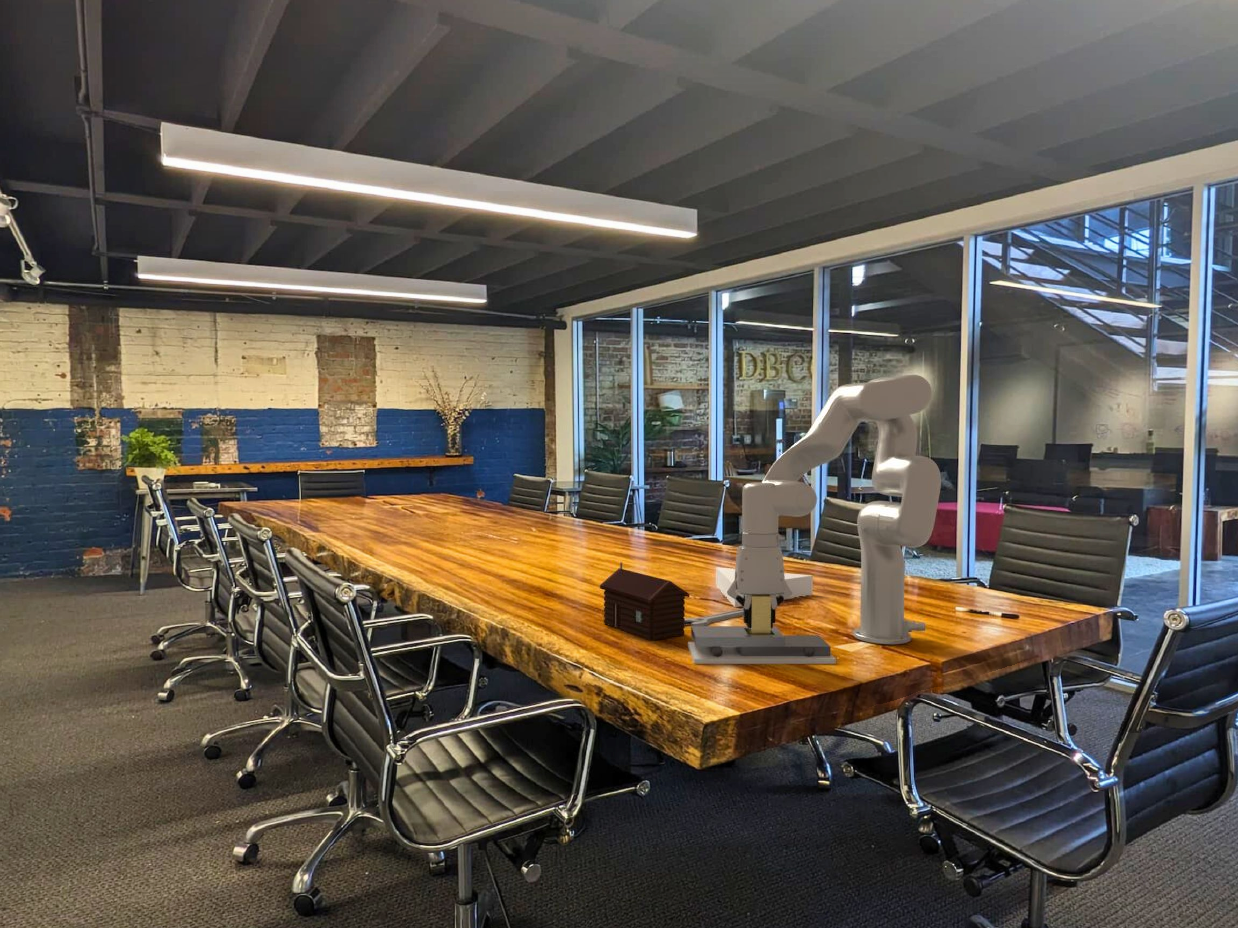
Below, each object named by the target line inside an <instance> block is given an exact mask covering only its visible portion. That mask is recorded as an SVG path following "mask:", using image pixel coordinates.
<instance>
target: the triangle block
mask: <svg viewBox="0 0 1238 928" xmlns="http://www.w3.org/2000/svg"><path fill="white" fill-rule="evenodd" d="M784 576H785V582H786V583H787V585H788V587H789V588H790V590H791V591H792V595H791V596H790V597H788V598H787V599H786V600H790V599H795V598H794V597H797V598H800V597H799V596H803V597H807V596H806V595H809V596H813V595H814V594H813V593H814V592H813V587H814V586H813V584H814V583H813V582H814V576H813V575H811V574H801V573H799V574H798V573H789V572H787V573H786V572H784ZM734 580H735V568H728V567H719V566H717V567H715V586H716V587H717V589H718V588H719V589H720V590H721V591H720V590H719V589H718V590H719V591H720V592H721V593H722V595H724V597H725V598H726V597H727V598H726V599H727V600H728V601H729V602H730V604H732V606H733V607H734V608H739V607H743V606H742V605H741V604H740V603H739V602H738V601H737V600H735V599H733V598H732V597H730V596H729V595H728V594H727V591H728V589H729V588H730V586H731V585H732V583H733V582H734ZM736 593H737V594H738V595H740V596H741V597H742V598H743V594H740V593H739V592H738V590H736ZM778 595H780V594H778ZM778 595H776V596H778Z"/></svg>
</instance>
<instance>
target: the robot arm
mask: <svg viewBox="0 0 1238 928" xmlns="http://www.w3.org/2000/svg"><path fill="white" fill-rule="evenodd" d="M932 398H933V391H932V387H931V384H930V382H929V381H928V380H927V379H926V378H924V377H923V376H921V375H918V374H905V375H895V376H893V375H892V376H883V377H877V378H873V379H871V380H868V381H866V382H858V383H857V382H856V383H848V384H842V385H840V386H838V387H837V388H835V389H834V390H833V391H832V393H831V394H830V396H829V398H827V401H826V402H825V404H824V406H823V407H822V409H821V410H820V411H819V413H818V415H817V417H816V418H815V420H814V421H813V423H812V425H811V426H810V428H809V429H808V431H807V433H805V435H804V436H803V437H802V438H801V439H799V440H798V441H796V442H794V444H793V445H792V446H791V447H789V448H788V449H787V450H786V451H784V452H783V453H782V454H781V455H780V456H779V457H778V458H777V459H776V460H775V461H774V463H772V465H771V467H770V468H769V470H768V471H767V473H766V475H764V478H763V479H762V481H759V482H756V481H755V482H753V481H752V482H748V483H745V484H744V485H743V487H742V493H741V494H742V496H741V497H742V499H741V502H742V505H741V506H742V507H741V508H742V509H741V513H742V515H741V517H742V519H741V520H742V521H741V522H742V523H741V533H742V534H741V545H739V546H737V551H736V556H735V566H734V567H735V568H734V569H735V580H734V582H733V583H732V585H731V586H730V588H729V589H728V591H727V594H728V595H729V596H730V597H732V598H733V599H735V600H737V601H738V602H739V603H740V604H741V605H742V606H741V607H742V608H744V615H743V624H745V626H747V627H748V628H751V606H750V602H751V596H752V595H770V596H771V628H773V626H774V624H775V623H776V609H778V607H779V606H780V605H781V604H782V603H783V601H785V600H788V599H787V598H788V597H790V596H791V595H792V591H791V590H790V588H789V587H788V585H787V583H786V582H785V576H784V573H785V567H784V566H785V565H784V556H783V551H782V547H780V546H779V545H780V544H781V543H783V542H786V536H785V535H781V534H780V532H779V516H787V517H795V518H797V517H798V518H800V517H803V516H807V515H809V514H810V513H812V512H813V511H814V510H815V508H816V506H817V502H818V497H817V493H816V491H815V490H814V488H813V487H812V486H811V485H809V484H807V483H805V482H802V481H799V480H800V479H801V478H802V477H803V476H804V475H806V474H807V473H808V472H810V471H811V470H813V469H815V468H817V467H819V466H822V465H824V464H827V463H829V462H831V461H833V460H834V459H837V458H838V457H840V455H841V454H842V453H843V451H844V450H845V448H846V446H847V444H848V442H849V440H850V439H851V438H852V436H853V434H854V432H855V431H856V429H857V427H858V426H859V425H860V424H861V422H862V423H863V422H875V424H876V426H877V431H878V437H877V444H876V445H877V446H876V452H875V455H874V463H873V468H872V473H871V485H872V487H873V489H874V490H875V491H876V492H877V493H879V494H881V495H885V496H890V497H899V498H901V502H897V501H887V500H874V501H870V502H868V503H866V504H865V505H864V506H862V507H861V509H860V510H859V512H858V515H857V519H856V522H857V525H856V526H857V533H858V537H859V544H860V554H861V555H860V558H861V559H860V562H861V563H860V564H861V565H860V566H861V567H860V568H861V569H860V623H859V624H860V627H856V628H854V629H853V633H852V634H853V637H854V638H855V639H858V640H860V641H863V642H867V643H873V644H880V645H901V644H907V643H909V642H910V641H911V640H912V635H911V633H912V631H916V632H925V631H926V623H925V622H916V620H910V621H909V620H907V619H906V618H905V574H906V573H905V572H906V562H905V556H904V553H903V551H902V547H905V548H919V547H922V546H923V545H925V544H926V543H927V542H928V541H929V539H930V538H931V536H932V532H933V531H934V526H935V522H936V517H937V516H936V515H937V510H938V505H939V499H940V494H941V487H942V477H941V472H940V471H941V470H940V468H939V467H938V465H937V463H936V462H935V461H934V460H933V459H931V458H930V457H927V456H924V455H916V453H917V446H918V445H917V444H918V430H917V426H916V424H915V422H914V420H913V418H912V417H911V416H912V415H915V414H919V413H921V412H922V411H924V410H925V409H926V408H927V407H928V406H929V404H930V403H931V402H932V401H931V400H932ZM736 590H738V592H739V593H740V594H743V598H742V597H741V596H740V595H738V594H737V593H736ZM778 594H780V595H778ZM776 595H778V596H776Z"/></svg>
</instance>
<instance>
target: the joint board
mask: <svg viewBox="0 0 1238 928" xmlns="http://www.w3.org/2000/svg"><path fill="white" fill-rule="evenodd" d="M687 648H688V650H689V653H690V657H691V659H692V662H693V665H726V664H727V665H734V664H735V665H768V664H769V665H775V664H776V665H791V664H793V665H804V664H805V665H812V664H813V665H817V664H818V665H825V664H826V665H829V664H830V665H833V664H834V665H836V664H837V661H836V660H837V659H836V658H835V656H833V654H831V656H811V657H808V656H741V655H740V653H739V651H738V650H737V648H736V647H721V649H722V655H721V656H719V657H716V656H714V655H713V653H712V650H711V648H710V647H696V646H695V644H694V641H688V642H687Z"/></svg>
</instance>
